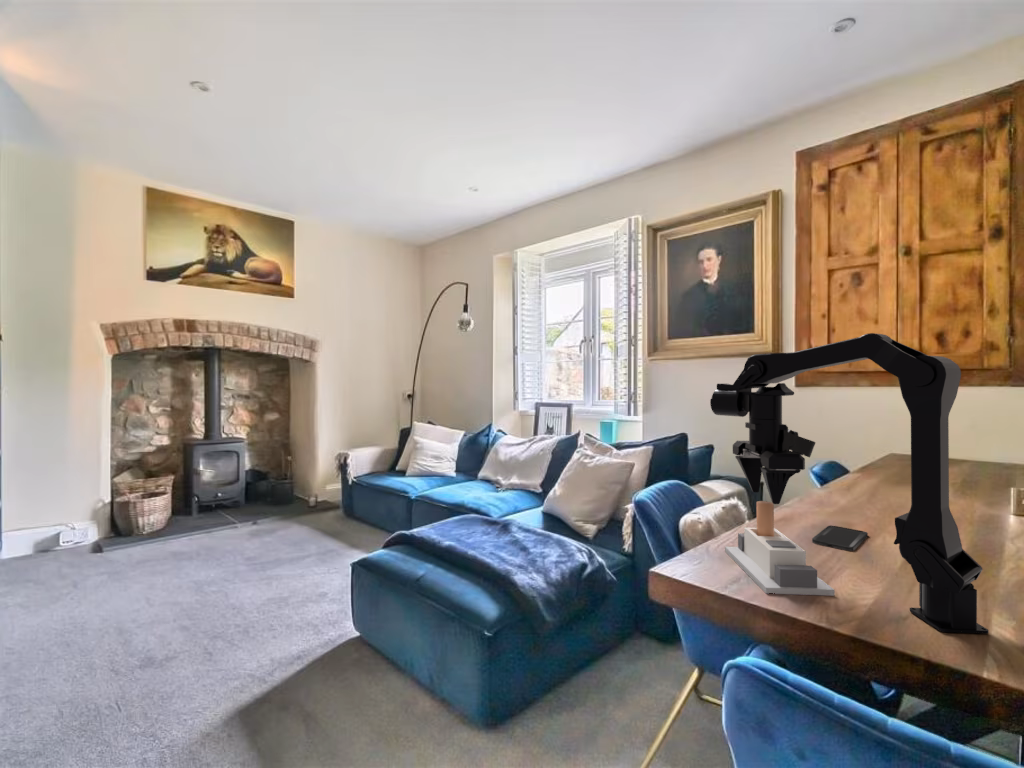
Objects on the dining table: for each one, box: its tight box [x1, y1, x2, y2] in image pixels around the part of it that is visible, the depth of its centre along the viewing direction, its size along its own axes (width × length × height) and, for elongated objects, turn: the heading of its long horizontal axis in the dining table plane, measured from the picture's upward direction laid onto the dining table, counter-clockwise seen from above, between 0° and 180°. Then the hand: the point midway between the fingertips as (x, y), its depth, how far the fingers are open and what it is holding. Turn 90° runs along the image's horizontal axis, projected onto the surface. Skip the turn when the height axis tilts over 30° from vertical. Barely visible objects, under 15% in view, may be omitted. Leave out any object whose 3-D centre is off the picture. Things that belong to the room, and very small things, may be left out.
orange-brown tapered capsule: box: [756, 500, 775, 536], centre depth 94 cm, size 3×3×9 cm
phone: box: [811, 525, 869, 552], centre depth 109 cm, size 8×1×15 cm
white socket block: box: [743, 527, 807, 578], centre depth 91 cm, size 13×6×5 cm, turn 172°
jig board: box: [724, 532, 835, 597], centre depth 91 cm, size 20×11×4 cm, turn 175°
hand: (765, 497), depth 94 cm, fingers open, 9 cm apart
